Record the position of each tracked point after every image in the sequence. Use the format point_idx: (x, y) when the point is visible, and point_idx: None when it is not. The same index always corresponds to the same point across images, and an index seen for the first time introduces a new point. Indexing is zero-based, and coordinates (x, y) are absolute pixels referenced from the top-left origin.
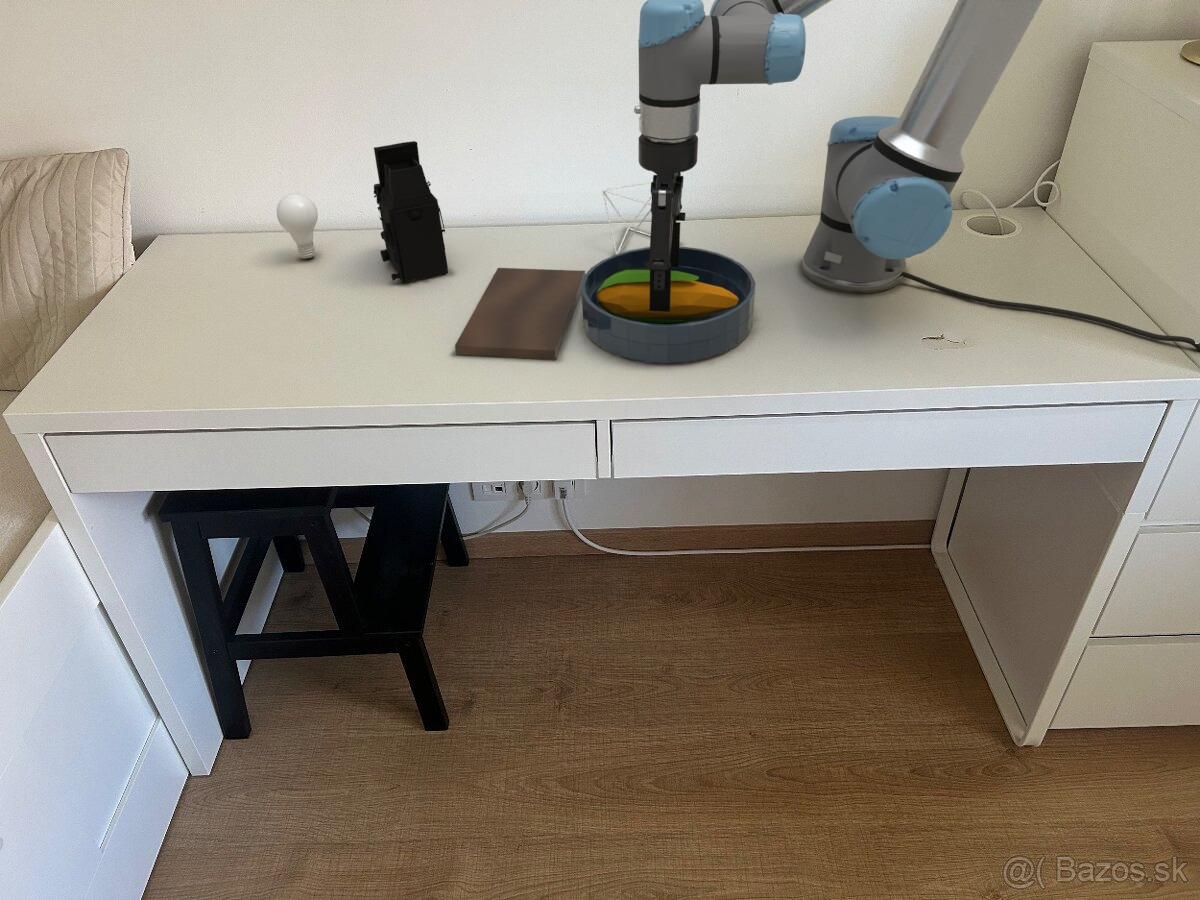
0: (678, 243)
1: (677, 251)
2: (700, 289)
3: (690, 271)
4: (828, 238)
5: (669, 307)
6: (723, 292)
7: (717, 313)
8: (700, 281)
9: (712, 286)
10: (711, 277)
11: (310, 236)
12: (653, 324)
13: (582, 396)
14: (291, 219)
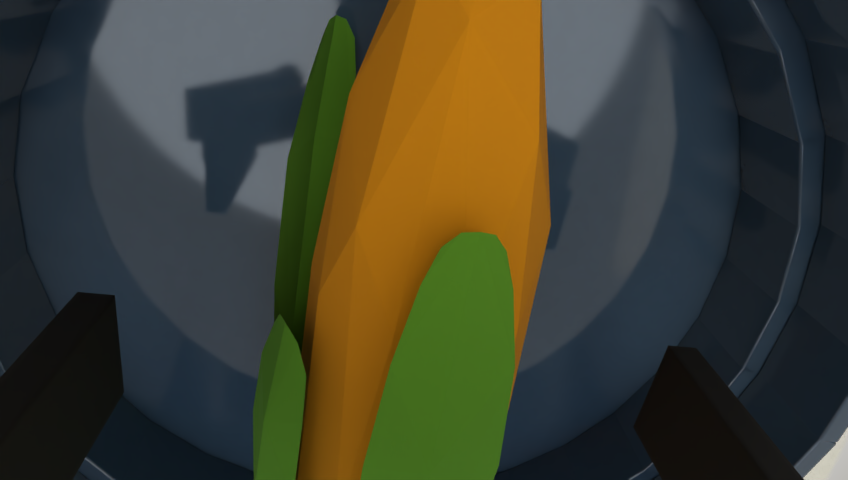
0: (20, 424)
1: (59, 377)
2: (510, 189)
3: None
4: None
5: (708, 364)
6: (510, 11)
7: (359, 6)
8: (11, 85)
9: (469, 100)
10: (6, 25)
11: None
12: (837, 423)
13: (820, 468)
14: None
